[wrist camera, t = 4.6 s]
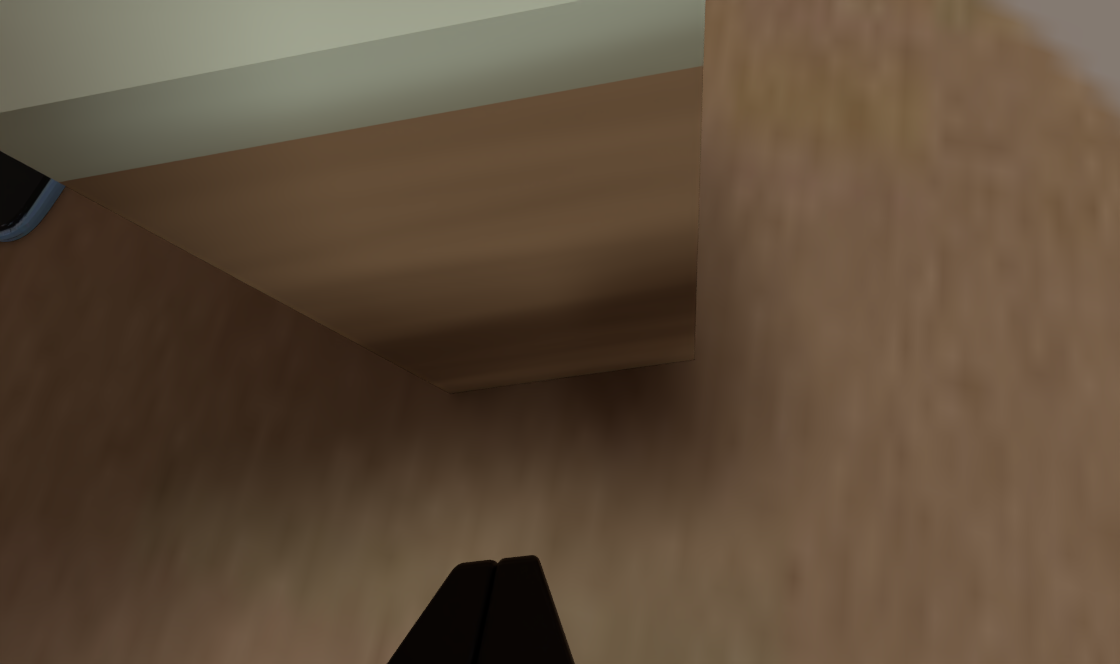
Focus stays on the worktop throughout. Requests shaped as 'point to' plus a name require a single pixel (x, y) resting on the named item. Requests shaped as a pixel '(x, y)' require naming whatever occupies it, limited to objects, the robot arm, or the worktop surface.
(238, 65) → the beige wooden block
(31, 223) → the smartphone
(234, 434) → the worktop surface
